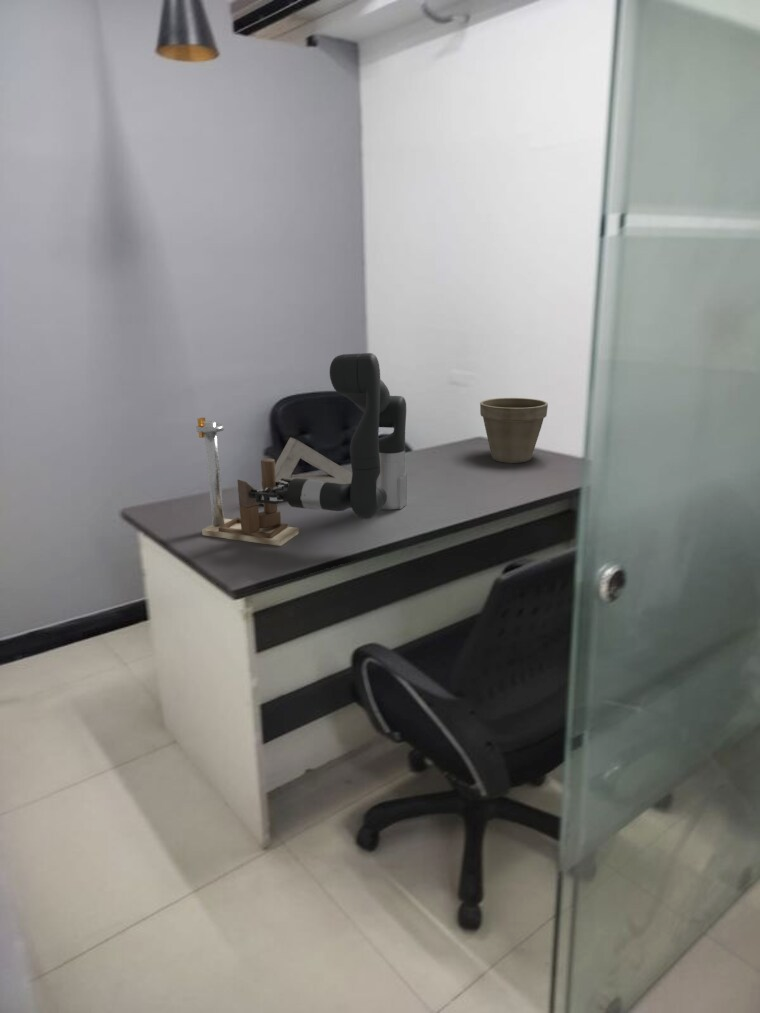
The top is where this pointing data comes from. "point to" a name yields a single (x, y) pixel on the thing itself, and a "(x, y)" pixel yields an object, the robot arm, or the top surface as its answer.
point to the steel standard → (213, 467)
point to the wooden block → (249, 506)
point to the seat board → (264, 535)
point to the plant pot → (513, 427)
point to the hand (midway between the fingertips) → (254, 488)
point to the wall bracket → (300, 450)
